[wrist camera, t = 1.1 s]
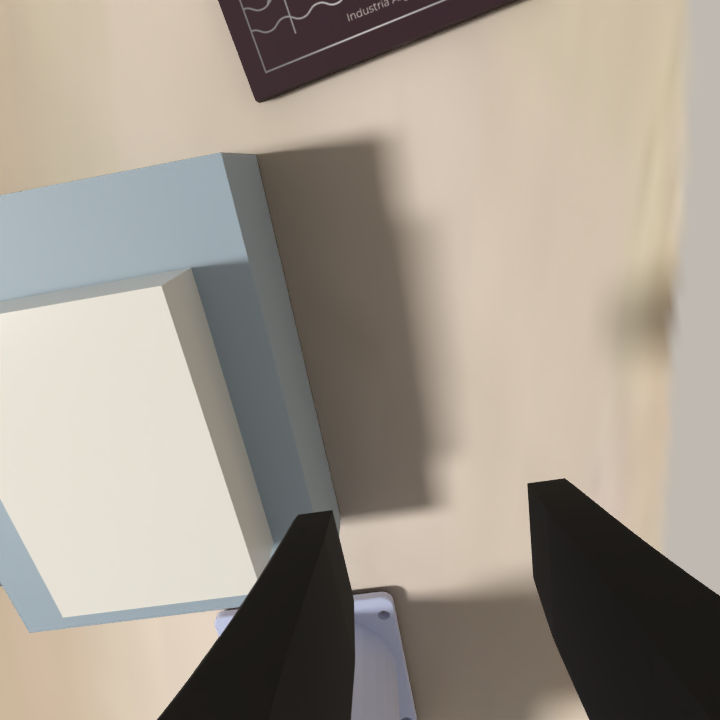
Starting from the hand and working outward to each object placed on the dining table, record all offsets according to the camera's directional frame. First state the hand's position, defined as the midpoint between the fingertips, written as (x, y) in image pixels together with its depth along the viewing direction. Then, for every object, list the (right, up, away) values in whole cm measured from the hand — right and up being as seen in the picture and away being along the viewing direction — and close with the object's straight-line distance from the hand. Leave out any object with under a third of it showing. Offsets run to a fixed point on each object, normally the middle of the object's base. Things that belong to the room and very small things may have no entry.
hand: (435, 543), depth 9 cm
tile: (-8, +1, +6) cm, 10 cm away
